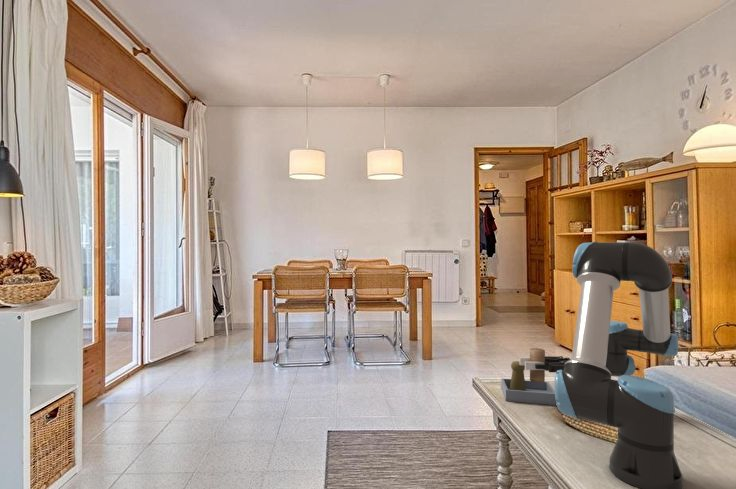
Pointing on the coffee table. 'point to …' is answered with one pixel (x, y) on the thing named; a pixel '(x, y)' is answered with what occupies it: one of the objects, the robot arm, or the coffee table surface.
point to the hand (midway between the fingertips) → (522, 363)
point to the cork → (517, 376)
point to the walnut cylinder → (537, 356)
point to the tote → (529, 392)
